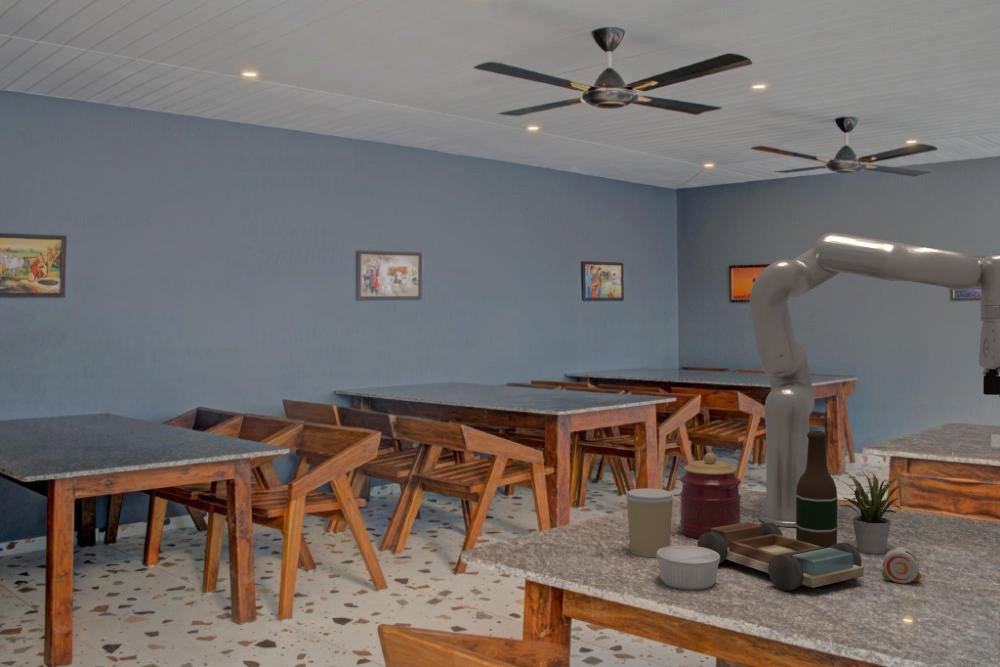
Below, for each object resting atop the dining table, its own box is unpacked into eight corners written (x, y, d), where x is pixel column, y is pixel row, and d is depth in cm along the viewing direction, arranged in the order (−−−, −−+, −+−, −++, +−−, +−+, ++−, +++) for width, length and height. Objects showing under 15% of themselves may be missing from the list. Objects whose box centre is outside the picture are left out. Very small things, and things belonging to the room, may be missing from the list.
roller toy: (883, 575, 161) (883, 543, 161) (921, 580, 158) (921, 548, 158) (880, 581, 157) (881, 549, 157) (920, 586, 154) (920, 554, 154)
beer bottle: (836, 546, 181) (836, 429, 181) (837, 556, 174) (838, 434, 173) (796, 543, 184) (796, 428, 183) (796, 553, 176) (796, 433, 176)
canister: (719, 524, 201) (719, 447, 200) (753, 538, 188) (753, 455, 188) (668, 529, 197) (668, 450, 196) (699, 543, 184) (699, 459, 184)
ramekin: (707, 596, 150) (708, 565, 150) (646, 585, 156) (646, 556, 156) (728, 579, 159) (728, 550, 159) (669, 570, 165) (669, 542, 165)
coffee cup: (678, 548, 180) (678, 490, 180) (666, 560, 171) (666, 499, 171) (633, 544, 184) (633, 486, 184) (620, 555, 175) (620, 495, 175)
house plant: (927, 550, 178) (928, 469, 178) (903, 564, 168) (904, 479, 167) (856, 538, 188) (856, 461, 187) (829, 551, 178) (830, 470, 177)
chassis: (690, 558, 172) (690, 528, 172) (753, 547, 181) (753, 517, 181) (804, 598, 148) (804, 562, 148) (871, 582, 157) (871, 549, 157)
